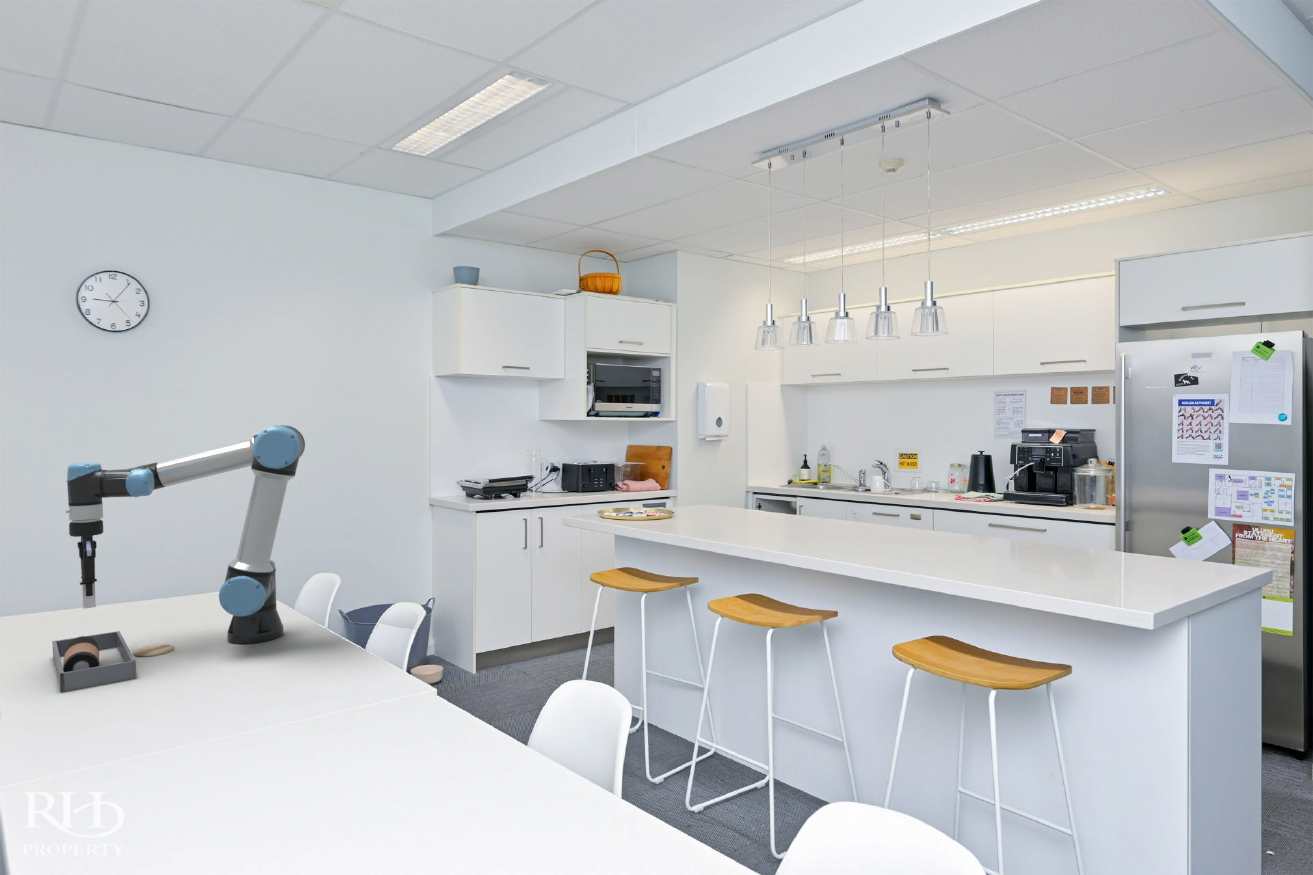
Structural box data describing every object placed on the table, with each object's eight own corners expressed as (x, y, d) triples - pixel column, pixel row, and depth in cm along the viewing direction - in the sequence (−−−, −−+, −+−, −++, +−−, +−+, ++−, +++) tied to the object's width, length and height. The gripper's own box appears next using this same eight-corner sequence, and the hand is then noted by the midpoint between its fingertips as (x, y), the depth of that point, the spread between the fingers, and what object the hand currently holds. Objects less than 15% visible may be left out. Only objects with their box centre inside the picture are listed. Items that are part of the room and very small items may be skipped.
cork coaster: (181, 646, 234) (181, 644, 234) (160, 656, 224) (160, 655, 224) (147, 646, 234) (147, 644, 234) (124, 657, 224) (124, 655, 224)
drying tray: (53, 657, 225) (52, 641, 225) (119, 646, 235) (119, 630, 235) (60, 692, 196) (59, 673, 196) (136, 678, 206) (135, 660, 206)
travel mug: (89, 666, 220) (89, 688, 204) (58, 657, 216) (55, 678, 200) (105, 640, 222) (106, 659, 206) (74, 630, 218) (73, 649, 202)
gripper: (67, 519, 220) (70, 605, 221) (70, 524, 210) (74, 614, 211) (100, 516, 225) (103, 600, 226) (105, 521, 215) (108, 609, 216)
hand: (89, 607), depth 218 cm, fingers closed
